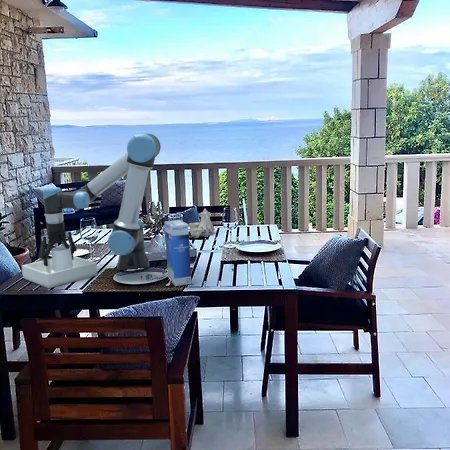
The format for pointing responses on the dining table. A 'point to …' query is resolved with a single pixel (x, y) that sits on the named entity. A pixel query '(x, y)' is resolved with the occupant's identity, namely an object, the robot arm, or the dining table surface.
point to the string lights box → (178, 252)
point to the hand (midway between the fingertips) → (59, 269)
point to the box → (59, 272)
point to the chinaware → (202, 225)
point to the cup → (61, 259)
